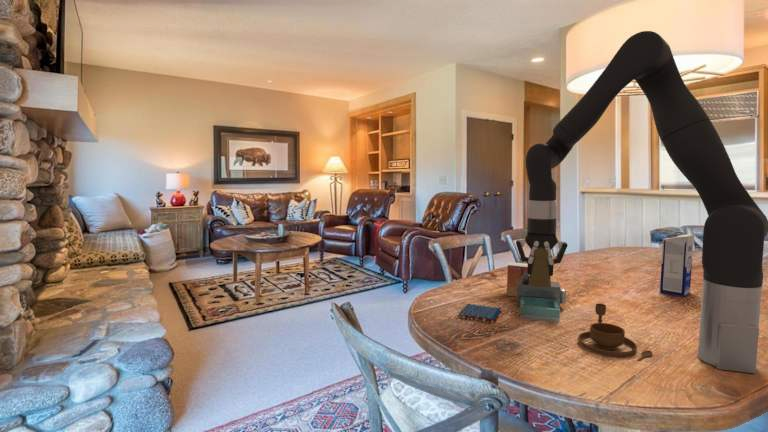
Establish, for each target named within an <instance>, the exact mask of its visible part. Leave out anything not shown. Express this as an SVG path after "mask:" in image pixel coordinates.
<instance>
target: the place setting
mask: <svg viewBox="0 0 768 432" xmlns="http://www.w3.org/2000/svg"><path fill="white" fill-rule="evenodd" d="M594 307H595V314H596V315H597V316H598V319H597V322H594V323H592V324H590V328H589V331H586V328H585V329H584V328H579V331H584V332H581V333H579V334H578V336H577V340H578V344H580V346H582V347H583V348H584V349H586V350H587V349H588V350H587V351H589V350H590V351H589V352H591V353H594V352H595V354H598V355H601V356H607V357H614V358H625V357H626V358H627V357H631V356H633V355H634V354H635V353H636V352H637V350H638V345H637V343H636V342H634V341H633V340H631V339H630V338H628V337H626V336H625V334H626V333H625V332H626V331H625V329H624V328H623V327H621V326H619V325H615V324H612V323H605V322H603V316H605V315H606V313H607V305H606V304H604V303H595V306H594ZM586 339H591V340H592V342H594V343H595V344H596V346H597V347H598V348H597V347H594V346H592V345H589V344H588V343H585V342H584V340H586ZM624 343H625V345H626V346H628V347H629V348H630V349H631V350H627V351H612V350H616V349H617V348H619V347H620V346H622V345H623V344H624ZM601 348H602V349H601ZM604 349H605V350H604ZM652 356H653V351H651V350H643V351H642V352H641V357H640V358H638V359H637V360H636V361H637V362H638V361H640V362H642V361H643V360H644V359H645V358H650V357H652Z"/></svg>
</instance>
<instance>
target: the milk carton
mask: <svg viewBox="0 0 768 432" xmlns="http://www.w3.org/2000/svg"><path fill="white" fill-rule="evenodd" d="M694 237H695V234H693V233H692V234H690V233H689V234H681V235H678V233H675V232H674V233H669V234H666V238H663V239H662V248H661V249H662V251H661V266H660V267H661V268H660V281H659V282H660V285H659V293H662V294H667V295H673V296H678V297H686V296H687V295H689V294H690V293H691V286H692V285H691V284H692V283H691V282H692V281H691V280H692V269H693V267H692V266H693V254H694V239H695V238H694Z"/></svg>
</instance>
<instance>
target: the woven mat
mask: <svg viewBox="0 0 768 432" xmlns="http://www.w3.org/2000/svg"><path fill="white" fill-rule="evenodd" d="M501 313H502V307H497V306H490V305H489V306H488V305H481V304H476V303H467V304H466V305H465V306H464V307H463V309H462V310H460V312H459V314H458V315H457V317H458V319H461V318H462V319H463V320H467V321H469V320H470V321H473V320H474V321H478V322H483V323H490V322H491V324H494V323H495V322H497V320H498V318H499V316H500V314H501Z"/></svg>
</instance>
